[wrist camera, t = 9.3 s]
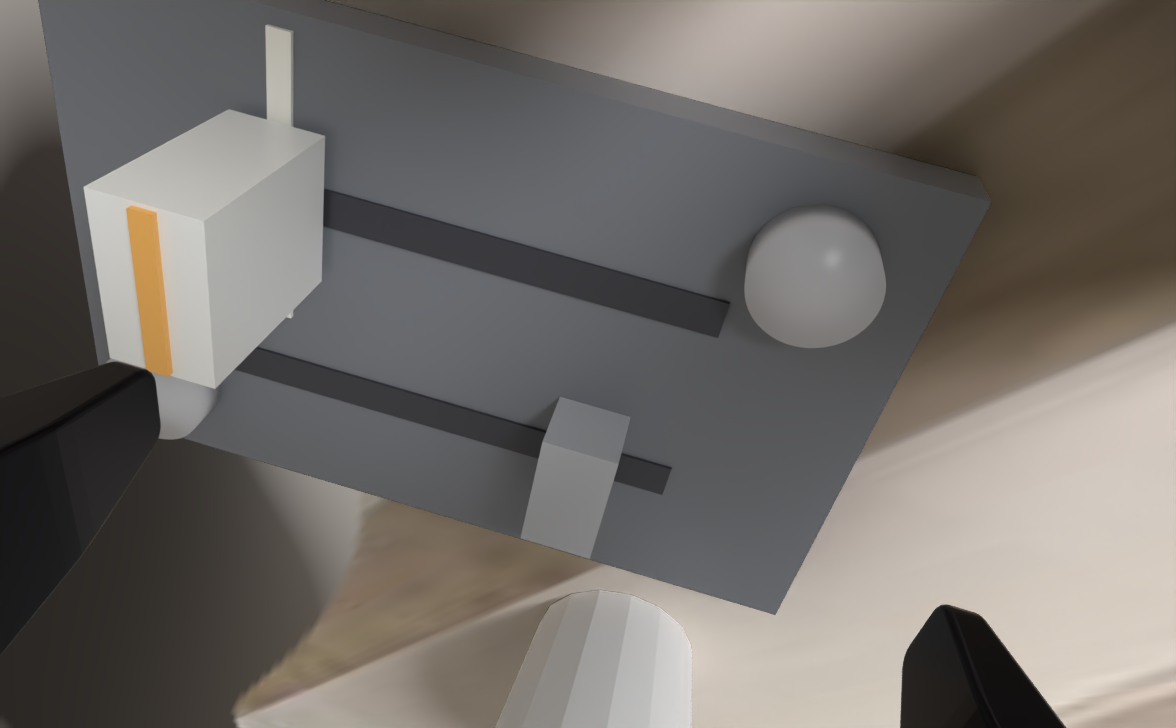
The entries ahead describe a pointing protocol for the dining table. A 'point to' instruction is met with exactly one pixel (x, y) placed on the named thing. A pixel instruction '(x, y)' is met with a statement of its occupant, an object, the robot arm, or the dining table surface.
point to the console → (538, 282)
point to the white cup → (603, 667)
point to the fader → (208, 244)
